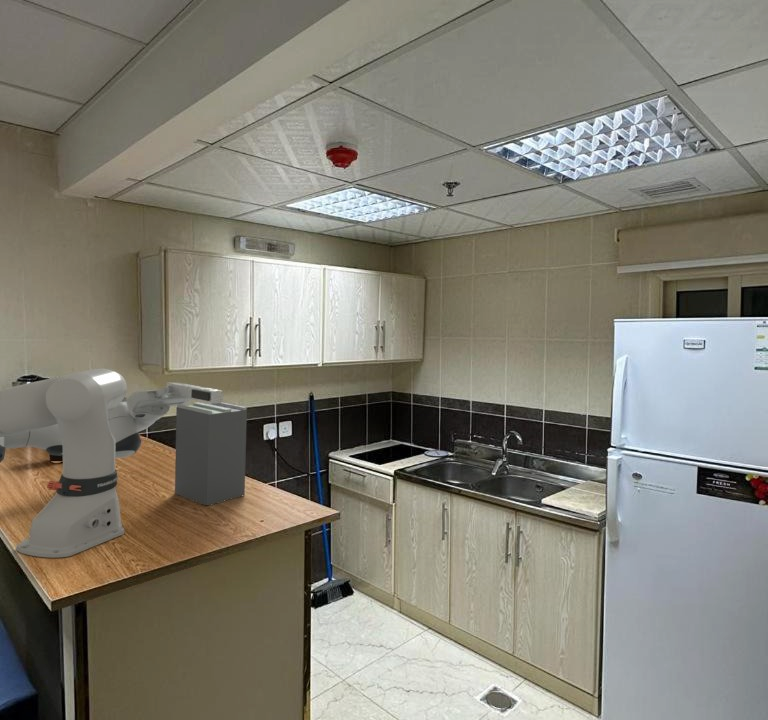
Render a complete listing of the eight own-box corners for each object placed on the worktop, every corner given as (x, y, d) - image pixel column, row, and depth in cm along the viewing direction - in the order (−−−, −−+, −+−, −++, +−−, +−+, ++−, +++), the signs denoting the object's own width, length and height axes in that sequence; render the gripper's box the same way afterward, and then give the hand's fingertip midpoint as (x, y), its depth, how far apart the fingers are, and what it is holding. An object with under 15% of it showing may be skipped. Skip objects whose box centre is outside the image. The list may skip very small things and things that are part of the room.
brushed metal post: (222, 402, 149) (222, 390, 149) (212, 403, 146) (212, 391, 146) (175, 393, 164) (175, 382, 163) (164, 394, 161) (165, 382, 160)
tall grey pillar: (244, 495, 157) (246, 407, 155) (206, 506, 146) (209, 411, 145) (212, 484, 166) (214, 400, 165) (174, 493, 156) (176, 404, 154)
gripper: (186, 410, 176) (208, 394, 168) (125, 417, 159) (147, 399, 152) (181, 393, 177) (202, 376, 170) (121, 398, 161) (141, 379, 153)
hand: (176, 387), depth 161 cm, fingers closed on brushed metal post, 3 cm apart
